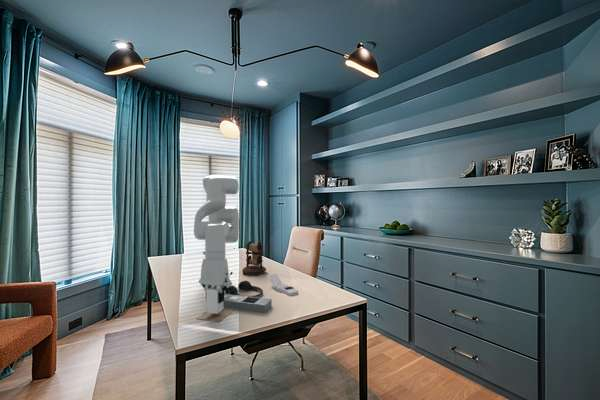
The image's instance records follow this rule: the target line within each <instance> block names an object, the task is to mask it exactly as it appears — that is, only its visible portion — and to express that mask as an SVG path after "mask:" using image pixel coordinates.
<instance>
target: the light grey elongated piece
mask: <svg viewBox="0 0 600 400" xmlns="http://www.w3.org/2000/svg"><path fill="white" fill-rule="evenodd" d="M266 277H267V278H268V279H269V282H270V283H271V284H272V286H273V289H274V290H275V291H276V292H278V293H280V294H285V295H287V296H289V297H293V296H296V295H299V290H298V289H296V288H295V287H293V286H291V285H288V284H286V283H283V282H282V280H281V279H280V277H279V276H278V274H277V273H271V274H267V275H266Z"/></svg>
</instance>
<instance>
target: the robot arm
mask: <svg viewBox="0 0 600 400" xmlns="http://www.w3.org/2000/svg"><path fill="white" fill-rule="evenodd" d="M202 186H203V189H204V191H205V194H206V202H205V203H204V204H203V205H202V206H200V207H199V208H198V210H197V211H196V213H195V215H194V222H193V237H194V238H195V239H196V240H198V241H205V242H204V243H205V245H204V246H205V250H204V251H202V255H204V258H203V259H202V264H201V269H200V277H199V278H200V279H199V280H198V284H200V285H201V286H202V288H203V289H204V292H205V299H206V300H207V289H208V288H210V287H212V286H218V287H219V293H218V303H221V302H223V301H224V294H225V291H226V289H227V288H228V287H230V286H233V283H232V281H231V279H230V277H229V276H230V273H229V265H228V259H227V257H226V244H228V243H229V244H233V243H237V242H238V240H239V238H240V237H239V236H240V234H239V233H240V230H239V228H240V227H239V225H240V222H239V220H240V219H239V218H240V217H239V215H240V213H239V210H238V208H237V207H235V206H226V205H227V200H226V199H227V198H226V197H227V195H237V194H238V192H239V187H240V186H239V180H238V178H237V177H236V176H229V175H228V176H227V175H225V176H224V175H208V176H204V177H203V179H202ZM206 217H208V220H209V221H203V220H204V218H206ZM206 300H205V301H206Z"/></svg>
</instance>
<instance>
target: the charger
mask: <svg viewBox="0 0 600 400" xmlns="http://www.w3.org/2000/svg"><path fill="white" fill-rule="evenodd" d="M218 293H219V287H218V286H212V287H210V288H208V289H207V300H205V301H206V304H205V305H206V308H205V309H206V310H205V312H208V313H215V314H217V313H219V312H220V311H221V310H224V308H223V302H221V303H218Z"/></svg>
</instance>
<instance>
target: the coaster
mask: <svg viewBox="0 0 600 400" xmlns="http://www.w3.org/2000/svg"><path fill="white" fill-rule="evenodd" d="M231 313H234V312H233V310H231V309H230V310H228V309H223V310H221V311H220V312H219V313H217V314H215V313H208V312H206V311H205V312H203V313H202V314H201V315H199V316H197V317H196V318H195V319H196V320H200V321H208V322H214V323H221V321H223V320H224V319H225V318H227V317H228V316H229V315H231Z"/></svg>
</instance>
